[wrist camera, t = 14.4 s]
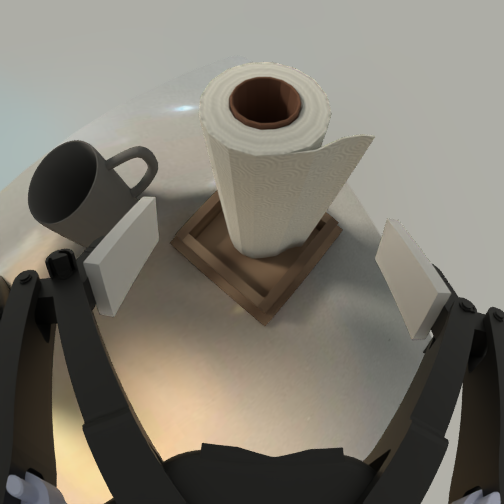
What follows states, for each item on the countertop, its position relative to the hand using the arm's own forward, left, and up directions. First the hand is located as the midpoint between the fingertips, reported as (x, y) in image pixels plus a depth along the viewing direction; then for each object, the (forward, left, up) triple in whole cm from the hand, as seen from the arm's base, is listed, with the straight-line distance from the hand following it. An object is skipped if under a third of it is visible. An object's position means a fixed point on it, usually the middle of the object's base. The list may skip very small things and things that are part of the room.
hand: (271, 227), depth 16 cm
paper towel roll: (-3, +3, -16) cm, 17 cm away
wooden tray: (-3, +3, -17) cm, 18 cm away
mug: (-18, -5, -17) cm, 25 cm away
